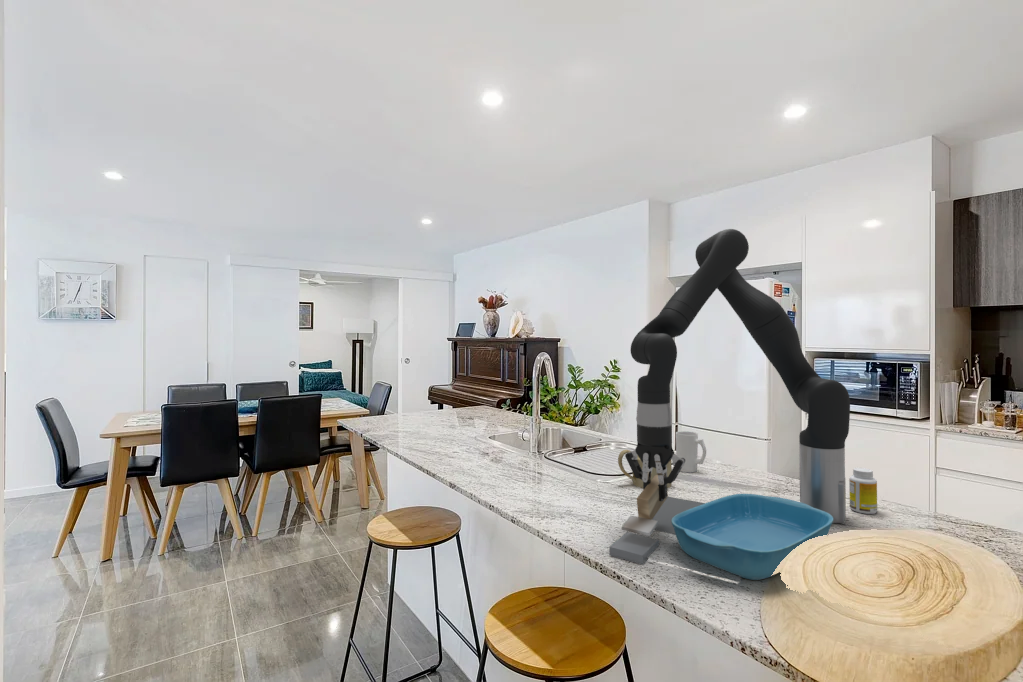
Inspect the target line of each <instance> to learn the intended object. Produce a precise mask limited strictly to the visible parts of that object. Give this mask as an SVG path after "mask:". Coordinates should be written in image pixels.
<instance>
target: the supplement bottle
mask: <svg viewBox="0 0 1023 682" xmlns="http://www.w3.org/2000/svg"><path fill="white" fill-rule="evenodd" d="M852 470H853V471H852V475H850V476H849V478H848V479H849V480H848V481H849V487H848V488H849V508H850V510H852V511H854V512H856V513H859V514H865V515H866V514H867V515H873V514H876V513H877V512H878V481H877V479H876V478H875V477H874V474H873V473H874V470H873V469H870V468H866V467H853V469H852Z"/></svg>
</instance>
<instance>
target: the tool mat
mask: <svg viewBox="0 0 1023 682" xmlns="http://www.w3.org/2000/svg"><path fill="white" fill-rule="evenodd" d="M705 503H706V502H700V501H696V500H691V499H690V500H689V499H684V498H679V497H673V496H668V497H667V499H666V500H665V502H664V503H663V505H662V506H661V507H660V509H659V510H658V512H657V513H656V514H655V516H654V517H653V519H652V520H656V521H658V525H657V526H656V528H655V529H654V531H657V532H661V533H665V534H671V535H674V536H676V534H675V531H674V527H673V525H672V522H671V520H672V518H673V517H674V516H675V515H677V514H679V513H681V512H683V511H686V510H689V509H691V508H694V507H697V506H700V505H702V504H705Z"/></svg>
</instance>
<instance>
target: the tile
mask: <svg viewBox="0 0 1023 682" xmlns="http://www.w3.org/2000/svg"><path fill="white" fill-rule="evenodd" d="M659 546H660V539H659V538H655V537H651V536H646V535H642V534H637V533H633V532H629V531H625V533H624V534H622V536H620V537H619V538H618V539H617V540H615V541H614V542H613V543H611V545H609V547H608V550H609V551H608V552H609V553H608V554H609V555H611V556H610V557H613V556H614V557H613V558H617V557H618V559H620V558H621V560H624V559H625V561H628V562H632V563H636V564H639V565H644V564H645V563H646V562H647V561H648V560H649V559H650V558H649V556H651V554H652V553H653V552H654V551H655V550H656V549H657V548H658V547H659Z"/></svg>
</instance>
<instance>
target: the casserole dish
mask: <svg viewBox="0 0 1023 682" xmlns="http://www.w3.org/2000/svg"><path fill="white" fill-rule="evenodd" d="M704 503H705V504H702V505H700V506H697V507H694V508H691V509H689V510H686V511H683V512H681V513H679V514H677V515H675V516H674V517H673V518H672V520H671V522H672V525H673V527H674V531H675V534H676V535H675V536H676V539H677V543H678V544H679V546H680V548H681V549H682V551H683V552H684V553H685V554H687V555H688V556H689V557H691V558H693V559H695V560H697V561H700V562H703V563H705V564H707V565H709V566H712V567H715V568H718V569H720V570H723V571H726V572H727V573H731V574H733V575H736V576H739V577H740V578H743V579H746V580H753V581H760V580H764V579H768V578H770V577H772V576H771V575H772V574H773V572H774V571H775V569H776V568H777V566H778V565H779V564H780V562H781V561H782V560H783V559H784V558H785V557H786V556H787V555H788V554H789V553H790V552H791V551H792V550H793V549H795V548H796V547H797V546H799V545H800V544H802V543H803V542H805V541H807V540H809V539H812V538H815V537H818V536H823V535H827V534H828V535H829V533H830V529H831V526H832V524H833V523H832V522H833V517H832V515H830V514H829V513H827V512H825V511H822V510H819V509H816V508H813V507H811V506H809V505H807V504H805V503H801V502H800V501H797V500H793V499H789V498H784V497H779V496H770V495H769V496H768V495H762V494H755V493H736V494H735V493H734V494H730V495H727V496H723V497H720V498H716V499H714V500H710V501H708V502H704ZM828 535H827V536H828Z"/></svg>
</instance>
